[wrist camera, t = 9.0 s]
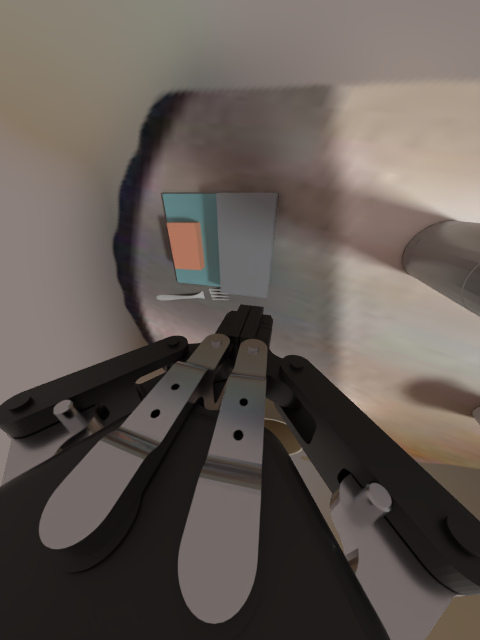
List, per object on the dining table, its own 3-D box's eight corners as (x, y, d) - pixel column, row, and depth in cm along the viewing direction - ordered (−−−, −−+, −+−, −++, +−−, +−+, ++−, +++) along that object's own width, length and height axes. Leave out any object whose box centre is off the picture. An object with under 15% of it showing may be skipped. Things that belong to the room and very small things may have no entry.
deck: (278, 193, 32) (276, 192, 29) (268, 290, 42) (266, 298, 39) (223, 193, 34) (216, 192, 31) (226, 286, 44) (220, 292, 41)
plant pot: (291, 406, 60) (291, 462, 47) (247, 391, 62) (235, 442, 48) (310, 376, 52) (316, 434, 39) (258, 359, 53) (247, 410, 40)
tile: (166, 222, 37) (173, 221, 39) (175, 268, 41) (180, 265, 43) (194, 223, 35) (199, 222, 37) (200, 270, 40) (204, 267, 42)
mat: (221, 193, 34) (221, 193, 34) (225, 286, 44) (224, 286, 44) (163, 193, 37) (162, 193, 36) (178, 281, 46) (177, 282, 46)
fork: (146, 292, 51) (141, 295, 50) (229, 286, 44) (227, 289, 43) (150, 303, 53) (146, 306, 51) (232, 298, 46) (230, 301, 44)
